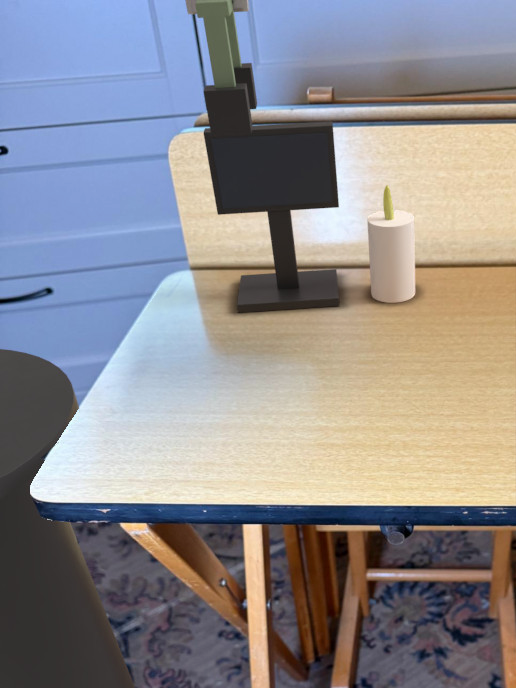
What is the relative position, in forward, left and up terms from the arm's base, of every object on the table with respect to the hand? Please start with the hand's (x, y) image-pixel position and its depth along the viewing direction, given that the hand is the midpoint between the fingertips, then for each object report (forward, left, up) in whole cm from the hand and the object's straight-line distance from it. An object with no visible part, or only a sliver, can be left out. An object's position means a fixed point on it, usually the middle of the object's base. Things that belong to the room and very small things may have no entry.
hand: (219, 12), depth 78 cm
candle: (+17, +14, -37) cm, 43 cm away
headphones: (0, 0, -10) cm, 10 cm away
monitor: (+2, +16, -36) cm, 40 cm away
